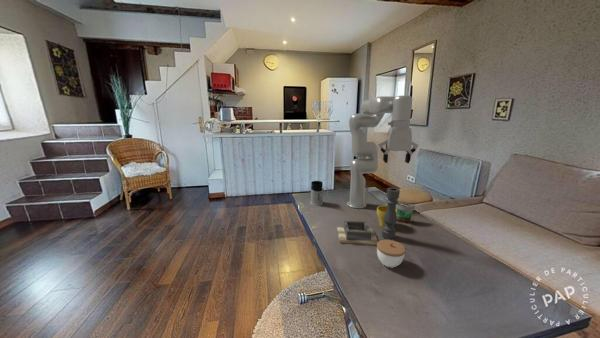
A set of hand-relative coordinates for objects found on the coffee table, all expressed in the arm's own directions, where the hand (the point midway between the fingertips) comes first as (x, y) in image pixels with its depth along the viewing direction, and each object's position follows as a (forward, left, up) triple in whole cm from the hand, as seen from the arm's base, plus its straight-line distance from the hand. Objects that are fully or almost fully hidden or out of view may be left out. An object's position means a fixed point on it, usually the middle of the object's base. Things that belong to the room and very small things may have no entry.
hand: (396, 162), depth 105 cm
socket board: (+1, -16, -38) cm, 41 cm away
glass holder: (-39, -34, -38) cm, 64 cm away
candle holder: (0, 0, -38) cm, 38 cm away
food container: (-18, +13, -38) cm, 44 cm away
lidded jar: (+21, -6, -38) cm, 44 cm away
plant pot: (-12, +2, -38) cm, 40 cm away
